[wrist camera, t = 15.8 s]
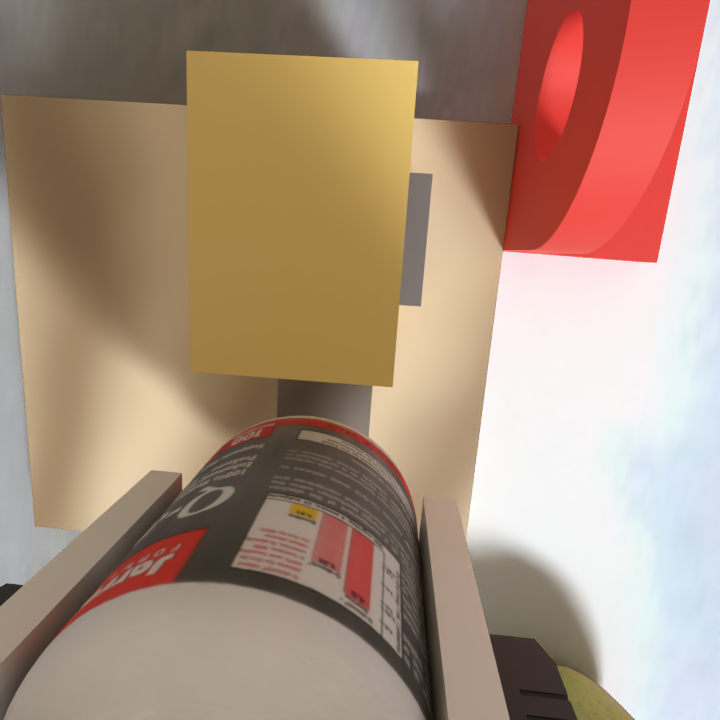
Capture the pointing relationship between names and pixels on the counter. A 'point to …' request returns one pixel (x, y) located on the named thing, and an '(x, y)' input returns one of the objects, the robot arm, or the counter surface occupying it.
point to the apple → (590, 698)
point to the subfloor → (171, 310)
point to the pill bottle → (256, 596)
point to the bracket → (600, 124)
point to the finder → (302, 215)
